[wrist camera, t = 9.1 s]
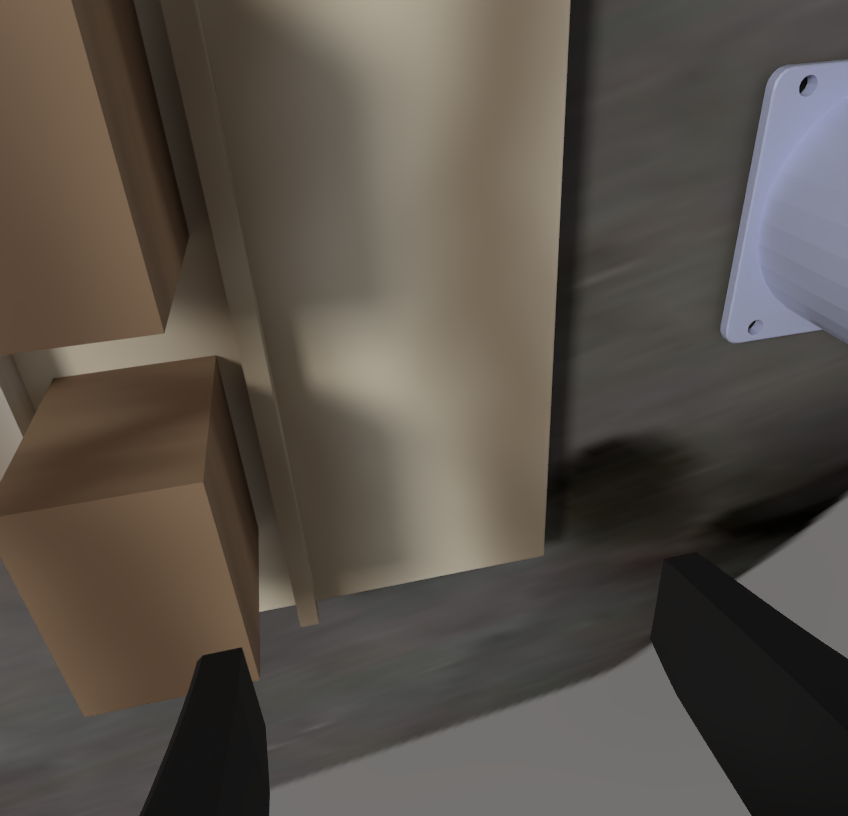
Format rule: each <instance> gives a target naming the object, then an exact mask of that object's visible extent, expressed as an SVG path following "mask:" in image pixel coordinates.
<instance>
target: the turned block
mask: <svg viewBox="0 0 848 816" xmlns="http://www.w3.org/2000/svg"><path fill="white" fill-rule="evenodd" d="M188 239H189V231H188V227H187V223H186V219H185V215H184V210H183V206H182V202H181V198H180V194H179V189H178V185H177V181H176V177H175V173H174V168H173V164H172V160H171V156H170V152H169V147H168V143H167V139H166V135H165V131H164V127H163V122H162V118H161V114H160V110H159V106H158V101H157V97H156V93H155V89H154V85H153V80H152V76H151V72H150V68H149V64H148V59H147V55H146V51H145V47H144V43H143V38H142V34H141V30H140V26H139V22H138V17H137V13H136V9H135V5H134V1H133V0H0V355H8V354H15V353H22V352H30V351H37V350H45V349H52V348H60V347H67V346H75V345H82V344H90V343H97V342H105V341H112V340H120V339H127V338H135V337H142V336H150V335H157V334H164V333H165V329H166V325H167V321H168V317H169V313H170V310H171V306H172V302H173V298H174V294H175V290H176V286H177V282H178V278H179V274H180V271H181V267H182V263H183V259H184V255H185V251H186V247H187V243H188Z"/></svg>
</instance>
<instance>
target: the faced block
mask: <svg viewBox="0 0 848 816" xmlns="http://www.w3.org/2000/svg"><path fill="white" fill-rule="evenodd" d="M0 557H1V559H2V561H3V562H4V564H5V566H6V568H7V570H8V572H9V574H10V576H11V578H12V580H13V582H14V583H15V585H16V587H17V589H18V591H19V593H20V595H21V597H22V599H23V601H24V603H25V604H26V606H27V608H28V610H29V612H30V614H31V616H32V618H33V620H34V622H35V624H36V625H37V627H38V629H39V631H40V633H41V635H42V637H43V639H44V641H45V643H46V645H47V646H48V648H49V650H50V652H51V654H52V656H53V658H54V660H55V662H56V664H57V666H58V667H59V669H60V671H61V673H62V675H63V677H64V679H65V681H66V683H67V685H68V687H69V688H70V690H71V692H72V694H73V696H74V698H75V700H76V702H77V704H78V706H79V708H80V710H81V711H82V713H83V715H84V717H88V716H93V715H98V714H103V713H107V712H112V711H117V710H121V709H126V708H131V707H135V706H140V705H145V704H150V703H154V702H159V701H164V700H168V699H173V698H178V697H182V696H187V693H188V690H189V687H190V683H191V680H192V677H193V674H194V670H195V667H196V663H197V661H198V660H199V659H200V658H201V657H202V656H203V655H207V654H211V653H216V652H221V651H226V650H230V649H235V648H240V647H242V649H243V652H244V655H245V659H246V662H247V665H248V669H249V672H250V676H251V679H252V682H253V681H258V680H260V633H259V532H258V525H257V521H256V517H255V513H254V509H253V505H252V501H251V497H250V492H249V488H248V484H247V480H246V476H245V472H244V468H243V464H242V460H241V456H240V452H239V448H238V443H237V439H236V435H235V431H234V427H233V423H232V419H231V415H230V411H229V407H228V403H227V399H226V394H225V390H224V386H223V382H222V378H221V374H220V370H219V366H218V362H217V358H216V355H213V356H206V357H199V358H192V359H185V360H178V361H171V362H164V363H157V364H150V365H143V366H136V367H129V368H122V369H115V370H108V371H101V372H94V373H87V374H81V375H74V376H67V377H60V378H53V380H52V382H51V384H50V386H49V388H48V390H47V392H46V394H45V396H44V398H43V400H42V401H41V403H40V405H39V407H38V409H37V411H36V413H35V415H34V417H33V419H32V421H31V423H30V425H29V427H28V429H27V431H26V433H25V435H24V437H23V439H22V441H21V443H20V445H19V446H18V448H17V450H16V452H15V454H14V456H13V458H12V460H11V462H10V464H9V466H8V468H7V470H6V472H5V474H4V476H3V478H2V480H1V482H0Z"/></svg>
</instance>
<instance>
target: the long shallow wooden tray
mask: <svg viewBox="0 0 848 816" xmlns="http://www.w3.org/2000/svg"><path fill="white" fill-rule="evenodd" d="M133 1H134V5H135V9H136V13H137V17H138V22H139V26H140V30H141V34H142V38H143V43H144V47H145V51H146V55H147V59H148V64H149V68H150V72H151V76H152V80H153V85H154V89H155V93H156V97H157V101H158V106H159V110H160V114H161V118H162V122H163V127H164V131H165V135H166V139H167V143H168V147H169V152H170V156H171V160H172V164H173V168H174V173H175V177H176V181H177V185H178V189H179V194H180V198H181V202H182V206H183V210H184V215H185V219H186V223H187V227H188V231H189V239H188V243H187V247H186V251H185V255H184V259H183V263H182V267H181V271H180V274H179V278H178V282H177V286H176V290H175V294H174V298H173V302H172V306H171V310H170V313H169V317H168V321H167V325H166V329H165V333H164V334H157V335H150V336H142V337H135V338H127V339H120V340H112V341H105V342H97V343H90V344H82V345H75V346H67V347H60V348H52V349H45V350H37V351H30V352H22V353H15V354H8V355H0V482H1V480H2V478H3V476H4V474H5V472H6V470H7V468H8V466H9V464H10V462H11V460H12V458H13V456H14V454H15V452H16V450H17V448H18V446H19V445H20V443H21V441H22V439H23V437H24V435H25V433H26V431H27V429H28V427H29V425H30V423H31V421H32V419H33V417H34V415H35V413H36V411H37V409H38V407H39V405H40V403H41V401H42V400H43V398H44V396H45V394H46V392H47V390H48V388H49V386H50V384H51V382H52V380H53V378H60V377H67V376H74V375H81V374H87V373H94V372H101V371H108V370H115V369H122V368H129V367H136V366H143V365H150V364H157V363H164V362H171V361H178V360H185V359H192V358H199V357H206V356H213V355H216V358H217V362H218V366H219V370H220V374H221V378H222V382H223V386H224V390H225V394H226V399H227V403H228V407H229V411H230V415H231V419H232V423H233V427H234V431H235V435H236V439H237V443H238V448H239V452H240V456H241V460H242V464H243V468H244V472H245V476H246V480H247V484H248V488H249V492H250V497H251V501H252V505H253V509H254V513H255V517H256V521H257V525H258V532H259V612H261V611H266V610H271V609H276V608H282V607H287V606H292V605H296V609H297V613H298V618H299V622H300V626H301V627H304V626H309V625H314V624H319V616H318V606H317V600H322V599H327V598H332V597H337V596H342V595H347V594H352V593H357V592H362V591H367V590H372V589H377V588H382V587H387V586H392V585H397V584H403V583H408V582H413V581H418V580H423V579H428V578H433V577H438V576H443V575H448V574H453V573H458V572H463V571H468V570H473V569H478V568H483V567H488V566H493V565H498V564H503V563H508V562H513V561H519V560H524V559H529V558H534V557H539V556H544V540H545V519H546V498H547V477H548V457H549V436H550V415H551V394H552V374H553V353H554V332H555V311H556V291H557V270H558V249H559V228H560V208H561V187H562V166H563V145H564V125H565V104H566V83H567V62H568V42H569V21H570V0H133Z"/></svg>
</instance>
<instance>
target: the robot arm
mask: <svg viewBox="0 0 848 816" xmlns="http://www.w3.org/2000/svg"><path fill="white" fill-rule="evenodd" d="M806 76H807V85H806V87H805V89H804V90H803V91H802V92H801V93H799V86H800V84H801V81H802V80H803V79H804V78H805V77H806ZM755 320H756V321H755ZM753 321H755V324H754V325H753V326H752V327H751V328H750V329H748V327H749V325H750V324H751V323H752V322H753ZM720 328H721V334H722V336H723V337H724V338H725V339H727V340H728V341H730V342H731V343H742V342H748V341H754V340H761V339H767V338H773V337H780V336H786V335H792V334H799V333H805V332H811V331H818V330H824V331H826V332H828V333H829V334H831V335H833V336H834V337H836V338H838V339H839V340H841V341H843V342H844V343H846V344H848V59H846V60H835V61H825V62H814V63H803V64H793V65H786V66H782V67H780V68H778V69H777V70H776V71H775V72H773V74H772V75H771V77H770V78H769V80H768V83H767V85H766V89H765V94H764V99H763V105H762V110H761V115H760V121H759V126H758V131H757V137H756V142H755V147H754V152H753V158H752V163H751V168H750V174H749V179H748V184H747V189H746V195H745V200H744V205H743V211H742V216H741V221H740V227H739V232H738V237H737V242H736V248H735V253H734V258H733V264H732V269H731V274H730V280H729V285H728V290H727V295H726V301H725V306H724V311H723V317H722V322H721V327H720ZM650 639H651V641H652V643H653V646H654V648H655V650H656V652H657V654H658V657H659V659H660V661H661V663H662V666H663V668H664V670H665V672H666V674H667V676H668V678H669V680H670V682H671V684H672V686H673V688H674V690H675V692H676V694H677V696H678V698H679V699H680V701H681V703H682V704H683V706H684V708H685V709H686V711H687V713H688V714H689V716H690V718H691V719H692V721H693V722H694V724H695V726H696V727H697V729H698V730H699V732H700V734H701V735H702V737H703V739H704V740H705V742H706V743H707V745H708V747H709V748H710V750H711V751H712V753H713V754H714V756H715V758H716V759H717V761H718V763H719V764H720V766H721V767H722V769H723V771H724V772H725V774H726V775H727V777H728V779H729V780H730V782H731V783H732V785H733V786H734V788H735V790H736V791H737V793H738V795H739V796H740V798H741V799H742V801H743V803H744V804H745V806H746V807H747V809H748V811H749V812H750V814H751V815H752V816H848V659H847V658H846V657H844V656H843V655H841V654H840V653H838V652H837V651H835V650H834V649H832V648H831V647H829V646H828V645H826V644H824V643H823V642H822V641H820V640H819V639H817V638H816V637H814V636H813V635H811V634H810V633H809V632H807V631H806V630H804V629H803V628H801V627H800V626H798V625H797V624H796V623H794V622H793V621H791V620H790V619H788V618H787V617H786V616H784V615H783V614H781V613H780V612H779V611H777V610H775V609H774V608H773V607H772V606H770V605H769V604H767V603H766V602H764V601H763V600H762V599H760V598H759V597H758V596H756V595H755V594H753V593H752V592H751V591H749V590H748V589H747V588H745V587H744V586H743V585H741V584H740V583H738V582H737V581H736V580H734V579H733V578H732V577H730V576H729V575H727V574H726V573H725V572H723V571H722V570H721V569H719V568H718V567H716V566H715V565H714V564H712V563H711V562H710V561H708V560H707V559H705V558H704V557H702V556H701V555H700V554H698V553H697V552H695V553H691V554H686V555H681V556H676V557H671V558H667V559H664V563H663V568H662V574H661V580H660V585H659V591H658V597H657V603H656V608H655V614H654V620H653V626H652V631H651V637H650ZM269 797H270V789H269V772H268V756H267V742H266V727H265V723H264V719H263V716H262V713H261V709H260V706H259V702H258V699H257V696H256V692H255V689H254V686H253V682H252V679H251V676H250V672H249V669H248V665H247V662H246V659H245V655H244V652H243V649H242V647H240V648H235V649H230V650H226V651H221V652H216V653H211V654H207V655H203V656H202V657H201V658H200V659H199V660H198V661H197V663H196V667H195V670H194V674H193V677H192V680H191V683H190V687H189V690H188V693H187V696H186V699H185V702H184V705H183V708H182V711H181V713H180V716H179V719H178V722H177V724H176V727H175V730H174V732H173V735H172V738H171V741H170V743H169V746H168V748H167V751H166V753H165V756H164V758H163V761H162V763H161V765H160V768H159V770H158V773H157V775H156V778H155V780H154V783H153V785H152V787H151V790H150V792H149V795H148V797H147V799H146V802H145V804H144V806H143V809H142V811H141V813H140V815H139V816H269V799H270V798H269Z"/></svg>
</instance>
